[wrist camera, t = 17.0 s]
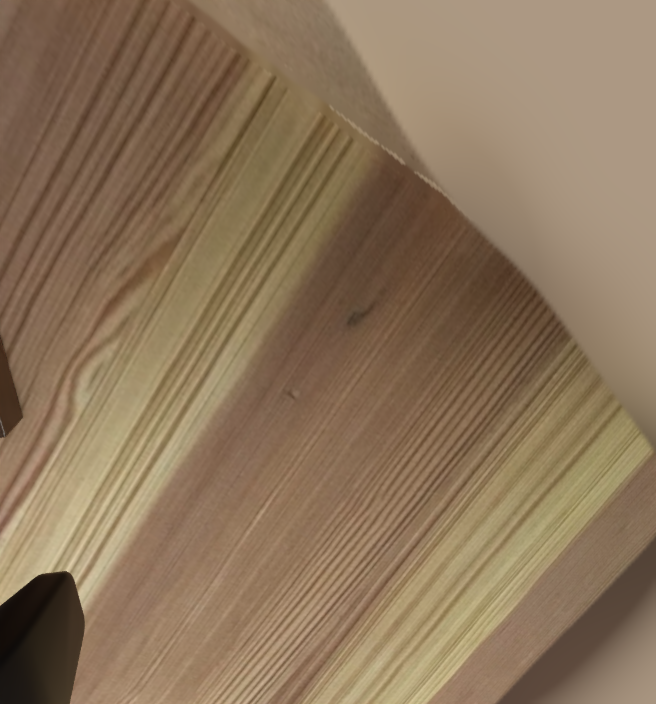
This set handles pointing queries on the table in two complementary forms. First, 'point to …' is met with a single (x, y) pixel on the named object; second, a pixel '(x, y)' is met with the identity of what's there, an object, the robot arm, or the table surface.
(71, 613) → the robot arm
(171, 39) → the table surface
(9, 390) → the walnut board
